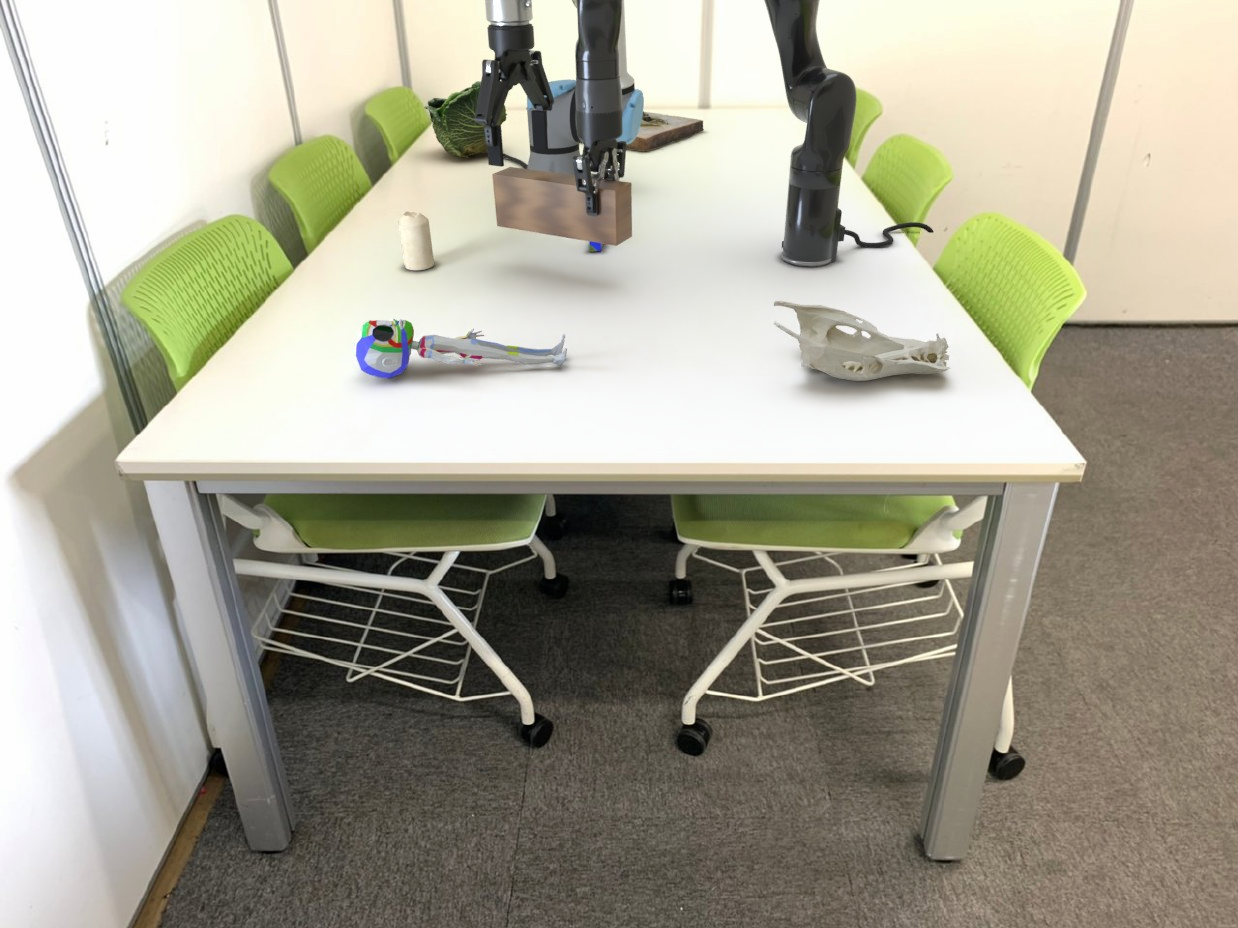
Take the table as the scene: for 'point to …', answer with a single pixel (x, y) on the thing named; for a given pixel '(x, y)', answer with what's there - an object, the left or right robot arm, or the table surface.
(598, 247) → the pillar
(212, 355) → the table surface
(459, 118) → the vegetable
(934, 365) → the anatomical model
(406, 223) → the candle
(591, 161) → the right robot arm
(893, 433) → the table surface
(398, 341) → the toy
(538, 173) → the bar
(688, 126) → the plaque
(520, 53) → the left robot arm
